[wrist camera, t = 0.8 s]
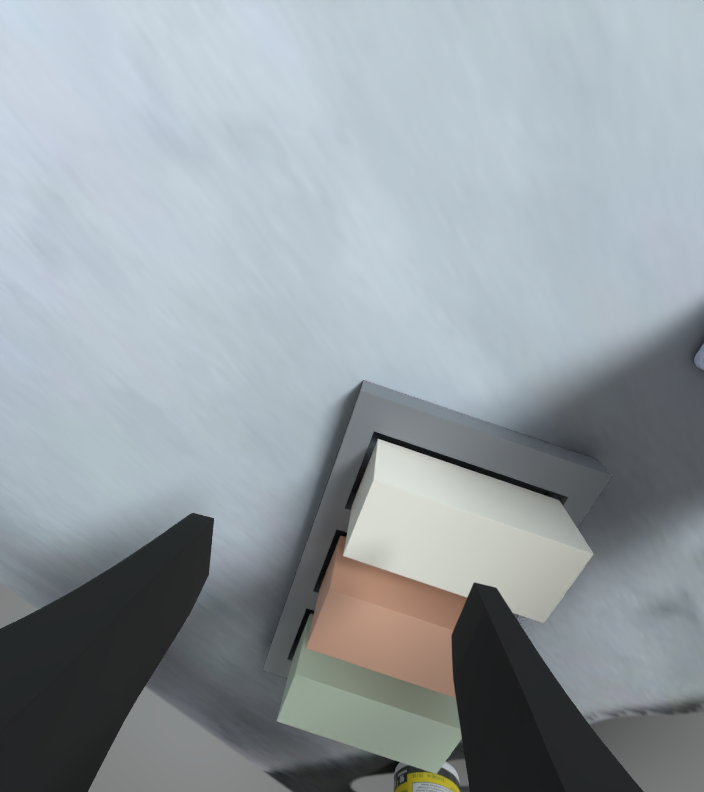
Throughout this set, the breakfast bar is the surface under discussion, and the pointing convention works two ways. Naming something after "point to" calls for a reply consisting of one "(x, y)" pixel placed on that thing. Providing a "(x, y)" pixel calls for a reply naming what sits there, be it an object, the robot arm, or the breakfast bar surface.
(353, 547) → the ivory key
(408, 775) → the supplement bottle
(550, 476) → the keypad plinth
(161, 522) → the breakfast bar surface
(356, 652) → the terracotta key
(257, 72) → the breakfast bar surface
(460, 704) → the robot arm
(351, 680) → the sage key
